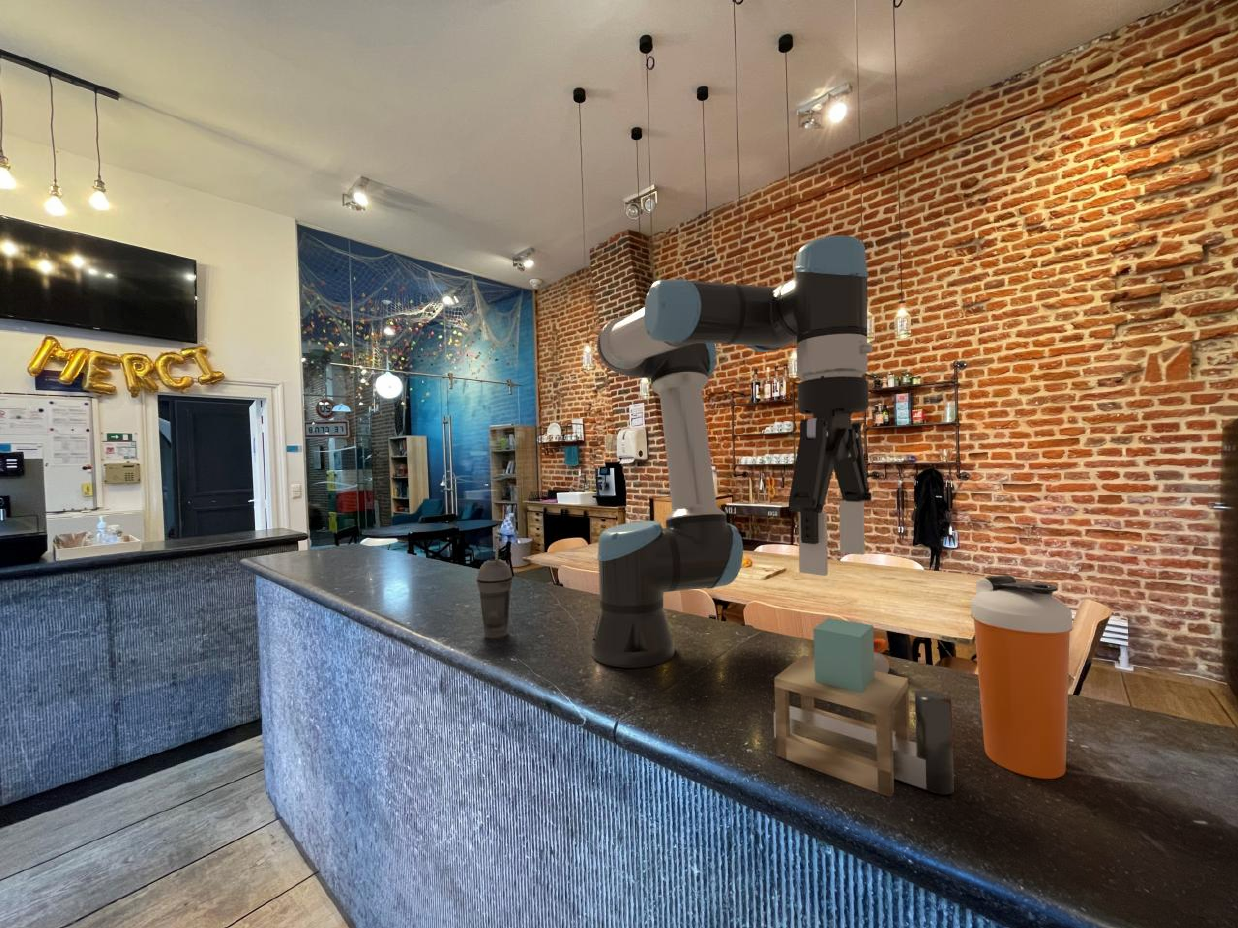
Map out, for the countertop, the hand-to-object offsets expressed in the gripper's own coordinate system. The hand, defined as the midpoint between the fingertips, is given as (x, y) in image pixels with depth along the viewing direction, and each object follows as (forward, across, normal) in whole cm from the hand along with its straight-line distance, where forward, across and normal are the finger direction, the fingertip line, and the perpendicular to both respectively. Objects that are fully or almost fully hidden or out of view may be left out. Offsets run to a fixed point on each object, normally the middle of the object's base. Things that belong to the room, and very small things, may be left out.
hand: (834, 562), depth 59 cm
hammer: (+22, 0, -2) cm, 22 cm away
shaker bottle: (+22, +11, -17) cm, 30 cm away
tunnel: (+22, 0, -1) cm, 22 cm away
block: (+13, 0, -1) cm, 13 cm away
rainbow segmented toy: (+23, +26, +5) cm, 35 cm away
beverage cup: (+24, +2, +68) cm, 72 cm away
